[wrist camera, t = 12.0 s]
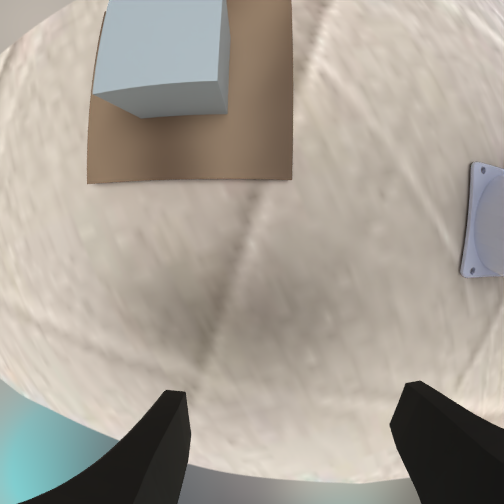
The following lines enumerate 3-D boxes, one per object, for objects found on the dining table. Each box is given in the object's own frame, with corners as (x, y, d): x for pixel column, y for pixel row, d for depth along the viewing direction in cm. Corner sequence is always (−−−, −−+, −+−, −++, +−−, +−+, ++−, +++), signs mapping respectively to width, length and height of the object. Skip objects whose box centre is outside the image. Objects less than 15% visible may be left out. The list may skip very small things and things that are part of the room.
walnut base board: (288, 6, 13) (291, -4, 12) (288, 179, 16) (292, 180, 15) (111, 19, 13) (104, 11, 12) (96, 183, 16) (87, 184, 14)
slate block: (230, 37, 13) (223, -20, 7) (227, 114, 14) (217, 80, 9) (147, 44, 13) (109, -4, 7) (141, 118, 14) (92, 94, 8)
